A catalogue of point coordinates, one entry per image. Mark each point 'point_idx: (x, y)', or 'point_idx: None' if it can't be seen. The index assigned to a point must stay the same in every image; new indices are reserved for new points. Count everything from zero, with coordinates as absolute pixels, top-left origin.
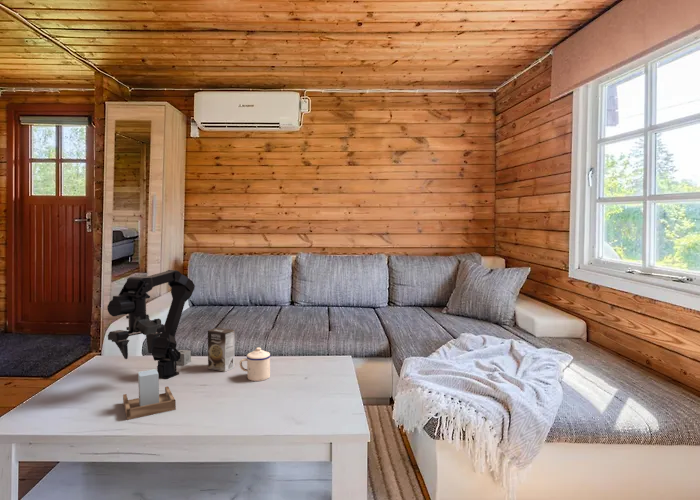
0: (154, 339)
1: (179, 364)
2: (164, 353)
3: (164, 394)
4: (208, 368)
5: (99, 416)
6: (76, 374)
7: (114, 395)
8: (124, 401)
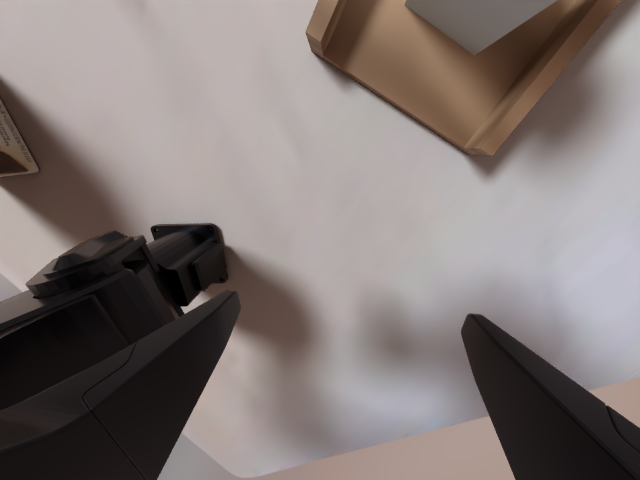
0: (65, 402)
1: None
2: (133, 277)
3: (337, 38)
4: (36, 167)
5: (618, 116)
6: (346, 445)
7: (415, 254)
8: (561, 67)
